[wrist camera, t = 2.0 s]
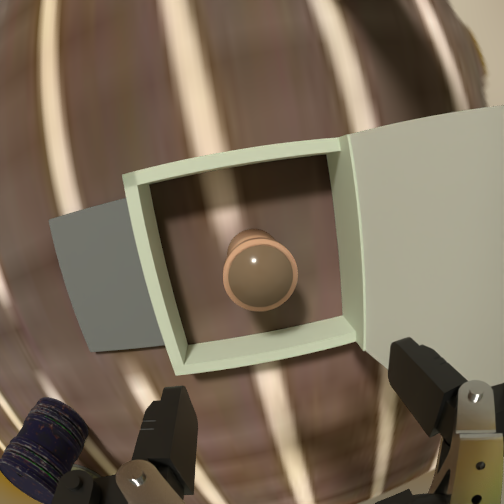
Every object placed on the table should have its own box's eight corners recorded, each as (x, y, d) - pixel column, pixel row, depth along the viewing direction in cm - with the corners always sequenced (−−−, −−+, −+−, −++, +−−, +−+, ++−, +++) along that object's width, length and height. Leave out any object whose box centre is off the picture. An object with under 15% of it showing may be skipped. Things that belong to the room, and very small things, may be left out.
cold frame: (357, 139, 28) (540, 105, 7) (372, 316, 33) (489, 441, 11) (135, 175, 27) (-40, 179, 6) (180, 355, 32) (146, 530, 11)
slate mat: (130, 197, 27) (127, 197, 27) (167, 341, 31) (166, 344, 30) (52, 218, 27) (48, 219, 26) (92, 348, 31) (90, 352, 30)
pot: (277, 221, 29) (293, 233, 22) (285, 276, 31) (301, 303, 24) (219, 231, 29) (216, 247, 22) (229, 287, 30) (230, 317, 24)
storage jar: (94, 446, 35) (69, 514, 21) (45, 430, 34) (14, 489, 20) (81, 406, 33) (44, 481, 19) (29, 389, 32) (-14, 450, 17)
